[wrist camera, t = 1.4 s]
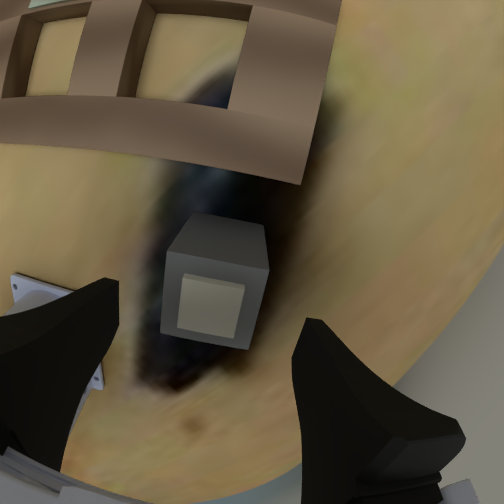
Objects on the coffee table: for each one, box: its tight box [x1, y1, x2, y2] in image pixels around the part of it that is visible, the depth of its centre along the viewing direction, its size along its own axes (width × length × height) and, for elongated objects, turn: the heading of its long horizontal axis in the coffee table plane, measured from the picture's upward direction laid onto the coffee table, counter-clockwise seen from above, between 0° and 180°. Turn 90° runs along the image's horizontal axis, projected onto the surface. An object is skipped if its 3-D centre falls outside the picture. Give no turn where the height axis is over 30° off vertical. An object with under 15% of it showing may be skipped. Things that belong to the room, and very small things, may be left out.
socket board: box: [0, 0, 342, 185], centre depth 12 cm, size 11×22×3 cm, turn 78°
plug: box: [160, 211, 269, 350], centre depth 15 cm, size 4×4×6 cm
